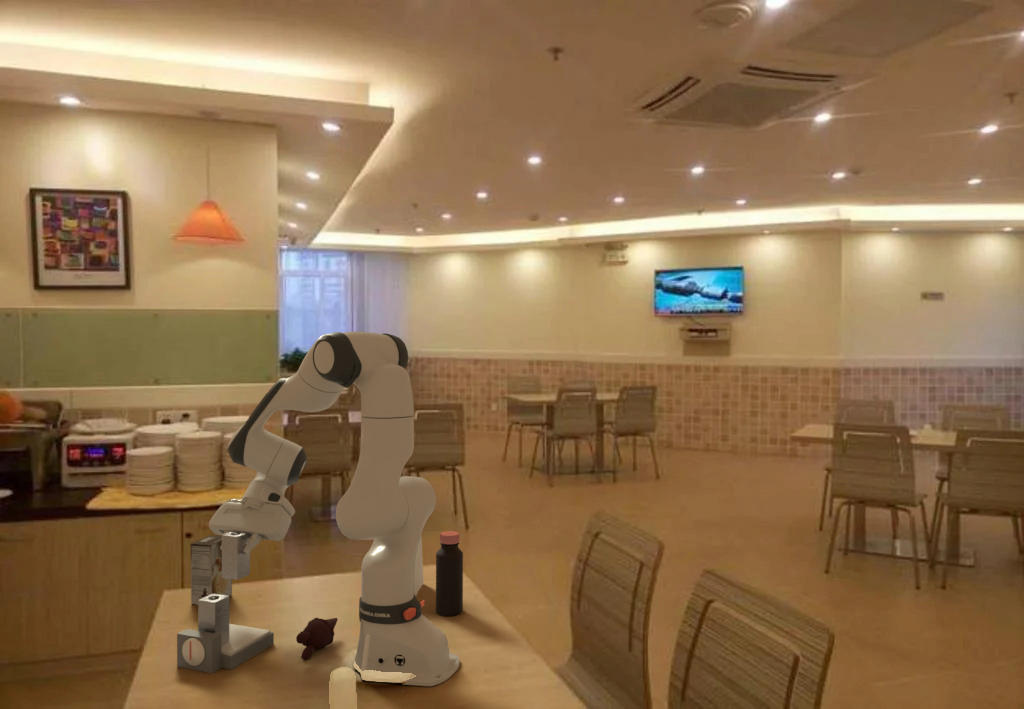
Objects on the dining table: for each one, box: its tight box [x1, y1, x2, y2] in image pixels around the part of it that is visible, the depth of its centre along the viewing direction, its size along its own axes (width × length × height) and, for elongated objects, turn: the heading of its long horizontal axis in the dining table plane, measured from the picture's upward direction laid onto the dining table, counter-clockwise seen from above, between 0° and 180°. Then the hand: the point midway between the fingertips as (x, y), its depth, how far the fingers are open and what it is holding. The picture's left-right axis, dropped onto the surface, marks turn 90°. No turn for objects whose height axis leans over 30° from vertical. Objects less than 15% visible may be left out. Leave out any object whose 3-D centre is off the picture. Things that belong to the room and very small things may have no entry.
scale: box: [176, 623, 275, 674], centre depth 164 cm, size 14×17×7 cm
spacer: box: [221, 531, 251, 581], centre depth 176 cm, size 4×4×10 cm
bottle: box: [435, 530, 464, 617], centre depth 190 cm, size 7×7×20 cm
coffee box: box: [190, 534, 233, 606], centre depth 198 cm, size 9×6×16 cm
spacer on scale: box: [197, 594, 230, 646], centre depth 162 cm, size 4×4×10 cm
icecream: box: [295, 617, 338, 661], centre depth 168 cm, size 7×7×15 cm
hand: (234, 551), depth 176 cm, fingers closed on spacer, 4 cm apart
